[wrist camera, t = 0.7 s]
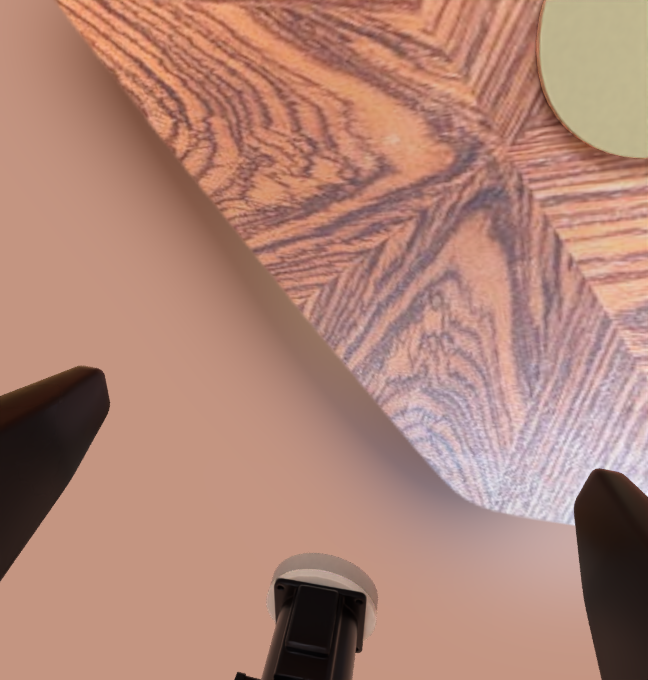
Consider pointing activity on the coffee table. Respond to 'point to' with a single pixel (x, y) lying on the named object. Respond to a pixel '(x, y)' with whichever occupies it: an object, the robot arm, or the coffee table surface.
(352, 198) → the coffee table surface
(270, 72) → the coffee table surface
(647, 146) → the coaster
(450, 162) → the coffee table surface
